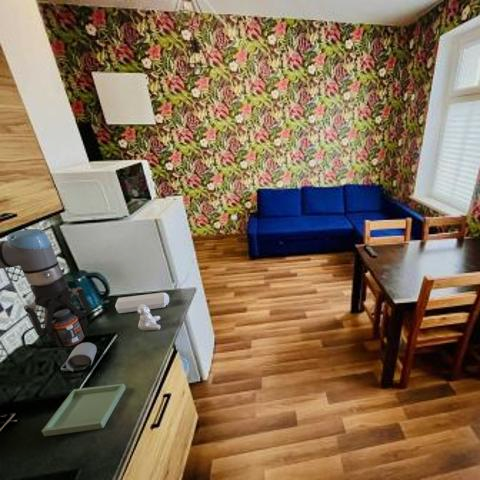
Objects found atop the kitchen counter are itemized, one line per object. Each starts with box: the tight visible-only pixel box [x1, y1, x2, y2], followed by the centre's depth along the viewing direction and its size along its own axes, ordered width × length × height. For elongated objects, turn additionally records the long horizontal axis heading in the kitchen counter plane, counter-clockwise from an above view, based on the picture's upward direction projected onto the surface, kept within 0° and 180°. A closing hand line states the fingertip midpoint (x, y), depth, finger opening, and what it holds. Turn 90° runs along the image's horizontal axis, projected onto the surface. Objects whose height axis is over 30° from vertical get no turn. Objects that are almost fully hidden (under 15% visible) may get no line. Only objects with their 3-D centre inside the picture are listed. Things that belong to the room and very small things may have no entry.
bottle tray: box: [41, 383, 127, 437], centre depth 85 cm, size 16×14×2 cm
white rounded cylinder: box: [114, 292, 170, 314], centre depth 133 cm, size 7×7×24 cm
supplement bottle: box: [52, 308, 86, 347], centre depth 86 cm, size 6×6×11 cm
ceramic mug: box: [60, 341, 98, 372], centre depth 100 cm, size 11×8×8 cm
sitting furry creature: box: [136, 304, 162, 332], centre depth 119 cm, size 10×9×12 cm
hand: (73, 339), depth 88 cm, fingers closed on supplement bottle, 6 cm apart
